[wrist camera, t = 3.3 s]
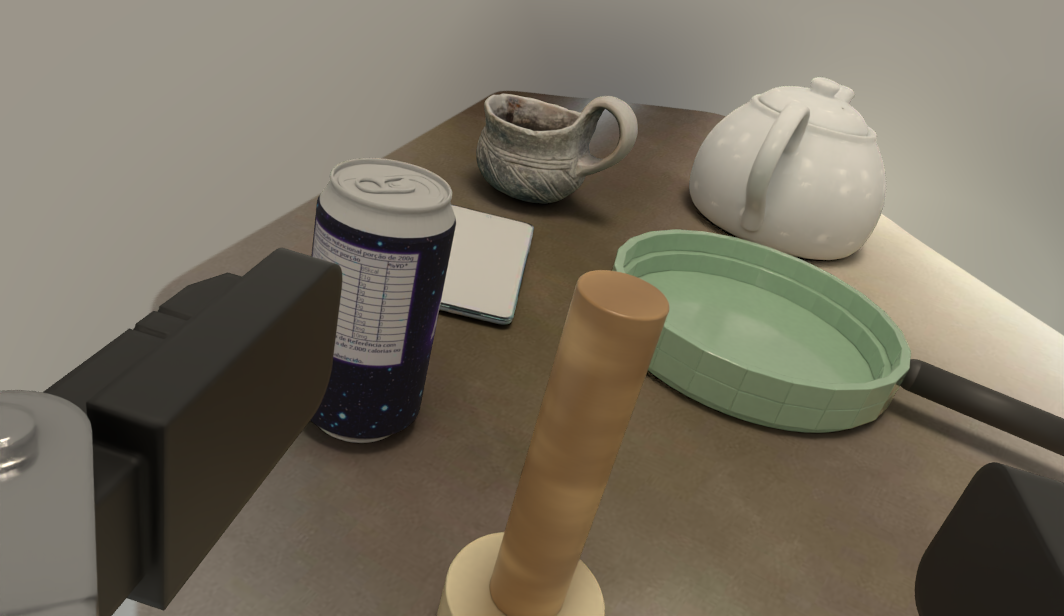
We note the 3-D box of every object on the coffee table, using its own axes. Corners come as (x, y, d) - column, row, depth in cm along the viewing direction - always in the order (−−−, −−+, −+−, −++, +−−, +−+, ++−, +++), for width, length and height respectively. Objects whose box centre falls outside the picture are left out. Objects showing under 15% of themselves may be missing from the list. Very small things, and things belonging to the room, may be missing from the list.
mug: (490, 161, 72) (514, 50, 67) (622, 204, 70) (656, 93, 66) (451, 193, 64) (474, 68, 59) (599, 242, 62) (636, 118, 57)
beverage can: (435, 441, 38) (485, 211, 32) (317, 464, 35) (348, 214, 29) (391, 371, 42) (428, 155, 36) (281, 386, 39) (301, 152, 33)
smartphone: (397, 294, 47) (445, 202, 60) (396, 302, 47) (444, 208, 61) (512, 322, 47) (535, 224, 60) (510, 329, 48) (533, 231, 61)
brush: (400, 664, 27) (485, 287, 20) (479, 562, 32) (572, 226, 25) (543, 755, 26) (692, 381, 18) (605, 634, 30) (744, 297, 23)
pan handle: (889, 388, 49) (904, 362, 48) (891, 374, 50) (905, 348, 50) (1093, 475, 46) (1113, 448, 45) (1088, 457, 47) (1107, 430, 46)
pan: (554, 341, 48) (568, 291, 46) (652, 246, 64) (666, 206, 62) (873, 487, 42) (903, 437, 41) (894, 344, 58) (916, 303, 57)
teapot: (645, 172, 79) (688, 34, 73) (802, 194, 85) (855, 67, 78) (724, 263, 64) (788, 97, 58) (909, 282, 70) (986, 133, 63)
